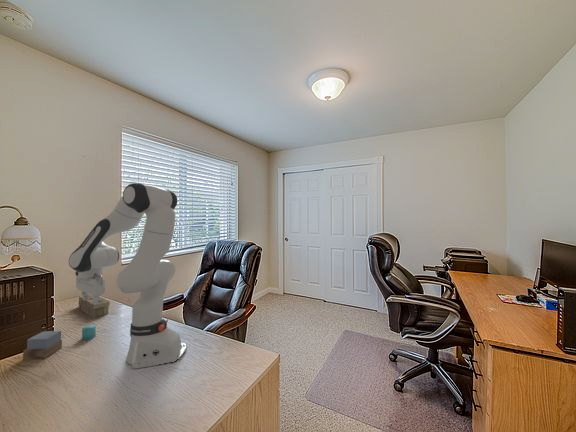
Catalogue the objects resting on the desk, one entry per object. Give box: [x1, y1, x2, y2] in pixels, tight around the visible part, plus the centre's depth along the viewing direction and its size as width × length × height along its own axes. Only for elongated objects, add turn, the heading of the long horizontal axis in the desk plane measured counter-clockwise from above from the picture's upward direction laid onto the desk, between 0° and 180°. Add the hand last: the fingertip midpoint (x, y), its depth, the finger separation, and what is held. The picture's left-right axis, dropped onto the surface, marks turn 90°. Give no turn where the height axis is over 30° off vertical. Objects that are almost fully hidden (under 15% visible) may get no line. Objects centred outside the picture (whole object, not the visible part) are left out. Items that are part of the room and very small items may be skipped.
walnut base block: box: [22, 339, 63, 361], centre depth 98 cm, size 8×8×4 cm
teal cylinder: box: [81, 324, 97, 341], centre depth 112 cm, size 5×5×5 cm
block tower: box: [78, 293, 111, 319], centre depth 146 cm, size 8×8×29 cm
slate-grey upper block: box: [26, 330, 62, 349], centre depth 99 cm, size 7×7×4 cm
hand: (90, 301), depth 113 cm, fingers open, 8 cm apart
